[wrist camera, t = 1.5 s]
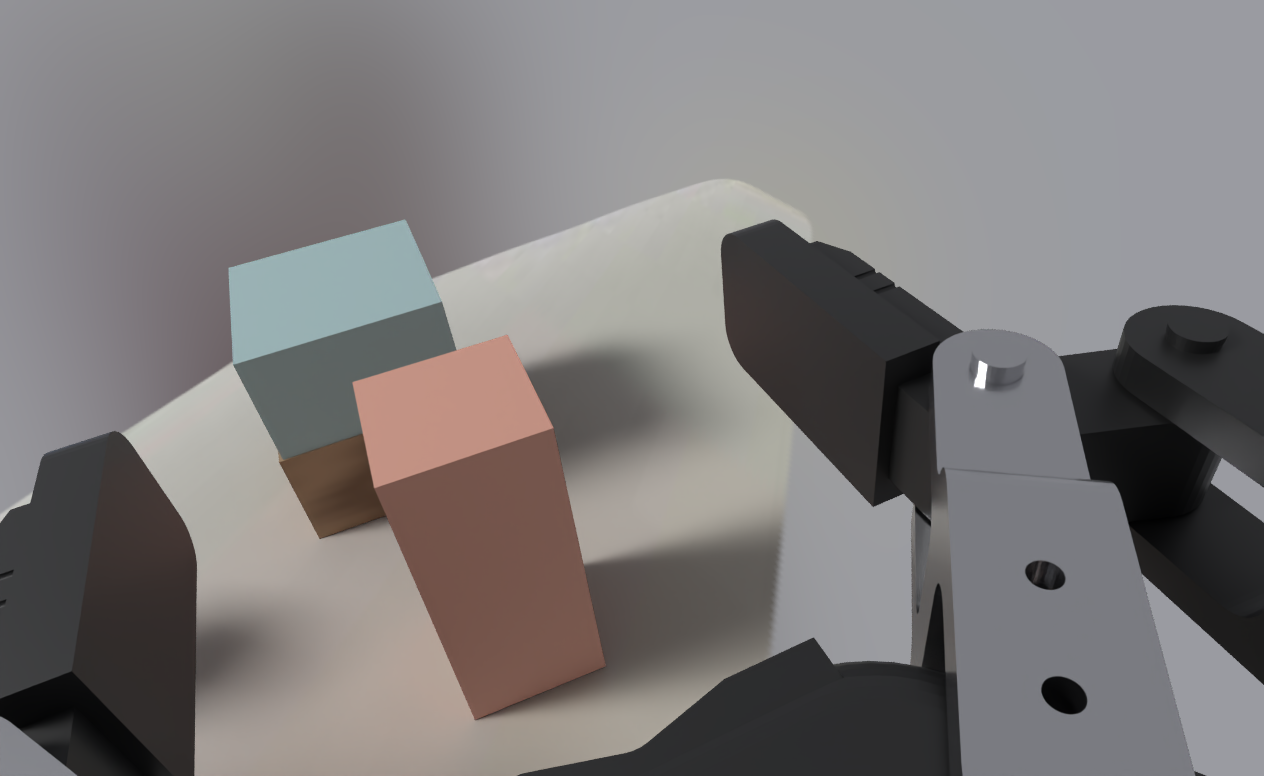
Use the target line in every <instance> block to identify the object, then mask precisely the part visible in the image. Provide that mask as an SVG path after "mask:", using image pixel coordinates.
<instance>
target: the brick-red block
mask: <svg viewBox="0 0 1264 776" xmlns="http://www.w3.org/2000/svg"><path fill="white" fill-rule="evenodd" d="M352 383H353V388H354V393H355V397H356V402H357V407H358V412H359V417H360V422H361V427H362V431H363V436H364V441H365V446H366V451H367V456H368V460H369V465H370V470H371V475H372V480H373V485H374V489H375V491H376V493H377V496H378V498H379V500H380V503H381V505H382V507H383V509H384V512H385V514H386V516H387V519H388V521H389V523H390V526H391V528H392V530H393V532H394V535H395V537H396V539H397V542H398V544H399V546H400V549H401V551H402V553H403V555H404V558H405V560H406V562H407V565H408V567H409V569H410V572H411V574H412V576H413V578H414V581H415V583H416V585H417V588H418V590H419V592H420V595H421V597H422V599H423V601H424V604H425V606H426V608H427V611H428V613H429V615H430V617H431V620H432V622H433V624H434V627H435V629H436V631H437V634H438V636H439V638H440V640H441V643H442V645H443V647H444V650H445V652H446V654H447V657H448V659H449V661H450V663H451V666H452V668H453V670H454V673H455V675H456V677H457V680H458V682H459V684H460V686H461V689H462V691H463V693H464V696H465V698H466V700H467V703H468V705H469V707H470V709H471V712H472V714H473V716H474V719H475V720H477V719H479V718H481V717H484V716H486V715H489V714H491V713H494V712H496V711H498V710H501V709H503V708H506V707H508V706H511V705H513V704H515V703H518V702H520V701H523V700H525V699H528V698H530V697H532V696H535V695H537V694H540V693H542V692H545V691H547V690H549V689H552V688H554V687H557V686H559V685H562V684H564V683H566V682H569V681H571V680H574V679H576V678H579V677H581V676H583V675H586V674H588V673H591V672H593V671H596V670H598V669H600V668H603V667H605V666H606V665H605V660H604V656H603V651H602V647H601V642H600V637H599V633H598V628H597V624H596V619H595V615H594V610H593V605H592V601H591V596H590V592H589V587H588V583H587V578H586V574H585V569H584V564H583V560H582V555H581V551H580V546H579V542H578V537H577V533H576V528H575V523H574V519H573V514H572V510H571V505H570V501H569V496H568V492H567V487H566V482H565V478H564V473H563V469H562V464H561V460H560V455H559V450H558V446H557V441H556V437H555V432H554V428H553V426H552V424H551V422H550V420H549V418H548V416H547V414H546V412H545V410H544V408H543V406H542V404H541V401H540V399H539V397H538V395H537V393H536V391H535V389H534V387H533V385H532V383H531V381H530V379H529V377H528V375H527V373H526V371H525V369H524V367H523V365H522V363H521V361H520V359H519V357H518V355H517V353H516V351H515V349H514V347H513V345H512V343H511V341H510V339H509V337H508V335H505V336H502V337H499V338H496V339H492V340H489V341H486V342H482V343H479V344H476V345H473V346H469V347H466V348H463V349H460V350H456V351H453V352H450V353H446V354H443V355H440V356H437V357H433V358H430V359H427V360H424V361H420V362H417V363H414V364H410V365H407V366H404V367H401V368H397V369H394V370H391V371H388V372H384V373H381V374H378V375H374V376H371V377H368V378H365V379H361V380H358V381H355V382H352Z"/></svg>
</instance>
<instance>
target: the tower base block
mask: <svg viewBox="0 0 1264 776" xmlns="http://www.w3.org/2000/svg"><path fill="white" fill-rule="evenodd" d="M278 454H279V463H280V465H281V467H282V468H283V470H284V472H285V474H286V476H287V478H288V480H289V482H290V484H291V486H292V487H293V489H294V491H295V493H296V495H297V497H298V499H299V501H300V503H301V504H302V506H303V508H304V510H305V512H306V514H307V516H308V518H309V520H310V521H311V523H312V525H313V527H314V529H315V531H316V533H317V535H318V537H319V538H320V539H321V538H323V537H326V536H329V535H332V534H335V533H338V532H341V531H343V530H346V529H349V528H352V527H355V526H358V525H360V524H363V523H366V522H369V521H372V520H375V519H377V518H380V517H383V516H386V514H385V512H384V509H383V507H382V505H381V503H380V500H379V498H378V496H377V493H376V491H375V489H374V485H373V480H372V475H371V470H370V465H369V460H368V456H367V451H366V446H365V441H364V436H363V434H360V435H357V436H354V437H351V438H348V439H345V440H342V441H339V442H336V443H333V444H330V445H327V446H324V447H321V448H318V449H315V450H312V451H309V452H306V453H303V454H300V455H297V456H294V457H291V458H288V459H285V460H283V459H282V457H281V455H280V453H279V451H278Z"/></svg>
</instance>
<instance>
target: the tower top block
mask: <svg viewBox="0 0 1264 776" xmlns="http://www.w3.org/2000/svg"><path fill="white" fill-rule="evenodd" d="M229 288H230V306H231V308H230V309H231V329H232V348H233V349H232V351H233V365H234V367H235V369H236V371H237V373H238V375H239V377H240V379H241V381H242V383H243V384H244V386H245V388H246V390H247V392H248V394H249V396H250V398H251V400H252V402H253V404H254V405H255V407H256V409H257V411H258V413H259V415H260V417H261V419H262V421H263V423H264V425H265V426H266V428H267V430H268V432H269V434H270V436H271V438H272V440H273V442H274V444H275V446H276V448H277V449H278V451H279V453H280V455H281V457H282V459H283V460H285V459H288V458H291V457H294V456H297V455H300V454H303V453H306V452H309V451H312V450H315V449H318V448H321V447H324V446H327V445H330V444H333V443H336V442H339V441H342V440H345V439H348V438H351V437H354V436H357V435H360V434H363V431H362V427H361V422H360V417H359V412H358V407H357V402H356V397H355V393H354V388H353V383H352V382H355V381H358V380H361V379H365V378H368V377H371V376H374V375H378V374H381V373H384V372H388V371H391V370H394V369H397V368H401V367H404V366H407V365H410V364H414V363H417V362H420V361H424V360H427V359H430V358H433V357H437V356H440V355H443V354H446V353H450V352H453V351H456V347H455V344H454V341H453V337H452V334H451V331H450V327H449V324H448V321H447V317H446V314H445V310H444V307H443V304H442V301H441V299H440V296H439V294H438V292H437V290H436V287H435V285H434V283H433V281H432V278H431V276H430V274H429V272H428V269H427V267H426V265H425V262H424V260H423V258H422V256H421V253H420V251H419V249H418V247H417V244H416V242H415V240H414V238H413V235H412V233H411V231H410V229H409V226H408V225H407V222H406V220H402V221H398V222H395V223H391V224H387V225H384V226H380V227H376V228H373V229H369V230H365V231H362V232H358V233H354V234H351V235H347V236H344V237H340V238H336V239H333V240H329V241H325V242H322V243H318V244H315V245H311V246H307V247H304V248H300V249H296V250H293V251H289V252H285V253H282V254H278V255H275V256H271V257H267V258H263V259H260V260H256V261H253V262H249V263H245V264H242V265H238V266H235V267H231V268H229Z"/></svg>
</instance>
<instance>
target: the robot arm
mask: <svg viewBox="0 0 1264 776" xmlns="http://www.w3.org/2000/svg"><path fill="white" fill-rule="evenodd" d="M721 260H722V276H723V293H724V309H725V325H726V332H727V337H728V340H729V344H730V346H731V349H732V351H733V353H734V355H735V357H736V359H737V361H738V362H739V364H740V365H741V366H742V367H743V369H744V370H745V371H746V372H747V373H748V374H749V375H750V376H751V377H752V378H753V379H754V380H755V381H756V382H757V384H758V385H759V386H760V387H761V388H762V389H763V390H764V391H765V392H766V393H767V394H768V395H769V396H770V397H771V399H772V400H773V401H774V402H775V403H776V404H777V405H778V406H779V407H780V408H781V409H782V410H783V411H784V412H785V413H786V415H787V416H788V417H789V418H790V419H791V420H792V421H793V422H794V423H795V424H796V425H797V426H798V427H799V428H800V429H801V431H803V433H804V434H805V435H806V436H807V437H808V438H809V439H810V440H811V441H812V442H813V443H814V444H815V445H816V446H817V448H818V449H819V450H820V451H821V452H822V453H823V454H824V455H825V456H826V457H827V458H828V459H829V460H830V461H831V462H832V464H833V465H834V466H835V467H836V468H837V469H838V470H839V471H840V472H841V473H842V474H843V475H844V476H845V478H846V479H847V480H848V481H849V482H850V483H851V484H852V485H853V486H854V487H855V488H856V489H857V490H858V491H859V492H860V494H861V495H863V497H864V498H865V499H866V500H867V501H868V502H869V503H870V504H871V505H872V506H873V507H874V506H876V505H879V504H881V503H883V502H885V501H888V500H890V499H893V498H895V497H897V496H899V495H902V494H905V496H906V497H907V498H909V500H910V501H911V502H913V512H912V520H911V545H912V546H911V547H912V549H911V550H912V551H911V553H912V649H911V650H912V651H911V662H910V663H911V664H910V665H907V664H900V663H895V662H878V661H862V662H846V663H840V664H832V662H831V661H830V659H829V658H828V657H827V655H826V654H825V652H824V651H823V650H822V648H821V647H820V645H819V644H818V643H817V641H816V640H815V639H814V638H812V639H809V640H807V641H805V642H803V643H801V644H799V645H797V646H794V647H792V648H790V649H788V650H786V651H784V652H781V653H779V654H777V655H775V656H773V657H771V658H769V659H766V660H764V661H762V662H760V663H758V664H756V665H754V666H751V667H749V668H747V669H745V670H743V671H741V672H739V673H736V674H734V675H732V676H730V677H728V678H726V679H724V680H723V681H722V682H720V683H719V684H718V685H717V686H715V687H714V688H713V689H712V690H711V691H709V692H708V693H707V694H706V695H705V696H703V697H702V698H701V699H700V700H699V701H697V702H696V703H695V704H694V705H692V706H691V707H690V708H689V709H688V710H686V711H685V712H684V713H683V714H682V715H680V716H679V717H678V718H677V719H676V720H674V721H673V722H672V723H671V724H670V725H668V726H667V727H666V728H665V729H663V730H662V731H661V732H660V733H659V734H657V735H656V736H655V737H654V738H653V739H651V740H650V741H649V742H648V743H646V744H645V745H644V746H642V747H641V748H639V749H636V750H634V751H632V752H628V753H624V754H619V755H614V756H609V757H604V758H599V759H594V760H589V761H584V762H579V763H574V764H569V765H564V766H558V767H553V768H548V769H543V770H538V771H533V772H528V773H523V774H520V775H518V776H1205V775H1203V774H1200V773H1198V772H1195V771H1194V770H1193V765H1192V761H1191V758H1190V754H1189V750H1188V747H1187V743H1186V739H1185V735H1184V731H1183V728H1182V724H1181V720H1180V717H1179V713H1178V709H1177V705H1176V702H1175V698H1174V694H1173V690H1172V686H1171V683H1170V679H1169V675H1168V671H1167V668H1166V664H1165V660H1164V657H1163V653H1162V649H1161V645H1160V641H1159V638H1158V634H1157V630H1156V626H1155V623H1154V619H1153V615H1152V611H1151V608H1150V604H1149V600H1148V596H1147V592H1146V589H1145V585H1144V581H1143V577H1142V574H1143V575H1144V576H1145V577H1146V578H1147V579H1148V580H1149V581H1150V582H1152V583H1153V584H1154V585H1155V586H1156V587H1157V588H1158V589H1160V591H1161V592H1162V593H1164V594H1165V595H1166V596H1167V597H1168V598H1169V599H1170V600H1171V601H1172V602H1173V603H1174V604H1176V605H1177V606H1178V607H1179V608H1180V609H1181V610H1182V611H1183V612H1184V613H1186V614H1187V615H1188V616H1189V617H1190V618H1191V619H1192V620H1193V621H1194V622H1195V623H1196V624H1198V625H1199V626H1200V627H1201V628H1202V629H1203V630H1204V631H1205V632H1206V633H1207V634H1209V635H1210V636H1211V637H1212V638H1213V639H1214V640H1215V641H1216V642H1217V643H1218V644H1220V645H1221V646H1222V647H1223V648H1224V649H1225V650H1226V651H1227V652H1228V653H1230V655H1232V656H1233V657H1234V658H1235V659H1236V660H1237V661H1238V662H1239V663H1240V664H1241V665H1243V666H1244V667H1245V668H1246V669H1247V670H1248V671H1249V672H1250V673H1251V674H1253V675H1254V676H1255V677H1256V678H1257V679H1258V680H1259V681H1260V682H1261V683H1262V684H1263V685H1264V523H1263V522H1262V521H1261V520H1259V519H1258V518H1257V517H1255V516H1254V515H1253V514H1251V513H1250V512H1249V511H1247V510H1246V509H1245V508H1243V507H1242V506H1241V505H1239V504H1238V503H1237V502H1235V501H1234V500H1233V499H1231V498H1230V497H1229V496H1227V495H1226V494H1225V493H1223V492H1222V491H1221V490H1219V489H1218V488H1217V487H1215V486H1213V485H1212V484H1211V481H1212V478H1213V476H1214V474H1215V472H1216V470H1217V467H1218V465H1219V463H1220V461H1221V458H1223V459H1224V460H1226V461H1227V462H1229V463H1230V464H1232V465H1233V466H1234V467H1236V468H1237V469H1238V470H1240V471H1241V472H1243V473H1244V474H1246V475H1247V476H1248V477H1250V478H1251V479H1253V480H1254V481H1255V482H1257V483H1258V484H1260V485H1261V486H1262V487H1264V334H1262V333H1261V332H1259V331H1257V330H1255V329H1254V328H1252V327H1250V326H1248V325H1246V324H1245V323H1243V322H1241V321H1239V320H1237V319H1235V318H1233V317H1230V316H1228V315H1225V314H1222V313H1219V312H1216V311H1212V310H1209V309H1204V308H1199V307H1191V306H1178V305H1172V306H1171V305H1170V306H1158V307H1152V308H1148V309H1145V310H1142V311H1140V312H1138V313H1136V314H1134V315H1133V316H1131V317H1130V318H1129V319H1128V320H1127V322H1126V324H1125V326H1124V329H1123V332H1122V336H1121V339H1120V342H1119V345H1118V349H1113V350H1105V351H1097V352H1089V353H1082V354H1073V355H1066V356H1058V355H1057V354H1056V353H1055V352H1054V351H1052V349H1051V348H1049V347H1048V346H1046V345H1045V344H1043V343H1041V342H1040V341H1037V340H1036V339H1033V338H1031V337H1028V336H1025V335H1022V334H1019V333H1015V332H1010V331H1005V330H996V329H980V330H971V331H967V332H963V331H961V330H960V329H958V328H957V327H956V326H954V325H953V324H952V323H950V322H949V321H947V320H946V319H944V318H943V317H942V316H940V315H939V314H937V313H936V312H935V311H933V310H932V309H930V308H929V307H928V306H926V305H925V304H923V303H922V302H921V301H919V300H918V299H916V298H915V297H914V296H912V295H911V294H909V293H908V292H906V291H905V290H904V289H902V288H901V287H897V288H896V287H895V284H894V282H892V281H891V280H890V279H888V278H887V277H885V276H884V275H882V274H881V273H876V272H875V269H874V268H873V267H871V266H870V265H868V264H867V263H866V262H864V261H863V260H861V259H860V258H859V257H857V256H856V255H854V254H853V253H851V252H849V251H846V250H843V249H840V248H837V247H834V246H831V245H828V244H825V243H822V242H818V241H816V242H813V243H808V242H807V241H806V240H804V239H803V238H802V237H800V236H799V235H798V234H796V233H795V232H794V231H792V230H791V229H790V228H788V227H787V226H786V225H784V224H783V223H782V222H780V221H778V220H770V221H767V222H764V223H760V224H757V225H754V226H751V227H748V228H745V229H742V230H739V231H736V232H733V233H730V234H727V235H725V237H724V238H723V240H722V244H721ZM1141 573H1142V574H1141ZM196 592H197V562H196V555H195V550H194V546H193V543H192V540H191V537H190V534H189V532H188V530H187V527H186V525H185V523H184V522H183V520H182V518H181V516H180V515H179V513H178V512H177V510H176V509H175V508H174V506H173V505H172V503H171V502H170V500H169V499H168V497H167V496H166V494H165V493H164V491H163V490H162V489H161V487H160V486H159V484H158V483H157V481H156V480H155V478H154V477H153V475H152V474H151V472H150V471H149V469H148V468H147V467H146V465H145V464H144V462H143V461H142V459H141V458H140V456H139V455H138V453H137V452H136V450H135V449H134V447H133V446H132V445H131V443H130V442H129V441H128V440H127V439H126V437H124V436H123V435H122V434H121V433H119V432H116V431H114V432H110V433H107V434H103V435H100V436H97V437H94V438H91V439H88V440H85V441H82V442H79V443H76V444H73V445H69V446H66V447H64V448H60V449H58V450H54V451H51V452H48V453H46V454H44V456H43V457H42V459H41V462H40V466H39V470H38V475H37V479H36V483H35V487H34V491H33V495H32V499H31V503H30V504H27V505H24V506H21V507H18V508H15V509H12V510H10V511H9V512H8V514H7V515H6V516H5V518H4V519H3V520H2V522H1V523H0V776H194V755H195V674H196Z"/></svg>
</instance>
